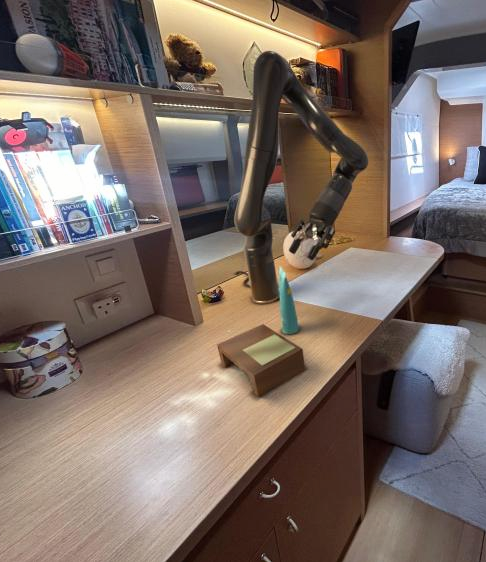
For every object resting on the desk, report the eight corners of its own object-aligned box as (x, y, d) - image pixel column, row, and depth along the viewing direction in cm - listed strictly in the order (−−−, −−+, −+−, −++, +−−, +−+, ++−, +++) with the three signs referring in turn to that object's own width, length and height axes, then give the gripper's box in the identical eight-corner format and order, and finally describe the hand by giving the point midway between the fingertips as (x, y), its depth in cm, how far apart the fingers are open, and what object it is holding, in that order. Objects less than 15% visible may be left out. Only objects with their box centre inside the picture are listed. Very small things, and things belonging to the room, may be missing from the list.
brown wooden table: (221, 364, 87) (216, 343, 84) (266, 342, 95) (262, 323, 93) (258, 397, 75) (253, 374, 72) (305, 369, 83) (302, 348, 81)
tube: (302, 333, 99) (294, 272, 91) (286, 338, 96) (277, 276, 89) (294, 322, 105) (286, 264, 97) (278, 327, 102) (269, 267, 95)
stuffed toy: (295, 240, 130) (327, 217, 149) (268, 240, 136) (302, 218, 155) (307, 283, 139) (336, 256, 158) (281, 280, 145) (312, 255, 164)
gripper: (304, 198, 101) (276, 244, 98) (336, 202, 92) (307, 254, 89) (319, 212, 106) (294, 257, 103) (351, 218, 97) (324, 267, 94)
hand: (300, 255), depth 96 cm, fingers open, 8 cm apart
